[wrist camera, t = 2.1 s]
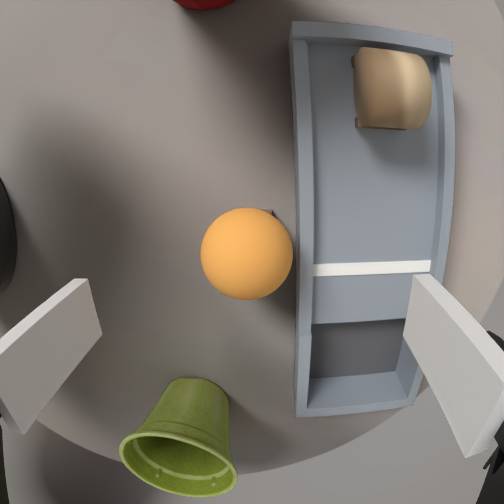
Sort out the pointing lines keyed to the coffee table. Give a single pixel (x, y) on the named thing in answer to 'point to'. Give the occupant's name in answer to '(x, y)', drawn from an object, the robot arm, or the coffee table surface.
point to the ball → (246, 253)
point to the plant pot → (184, 441)
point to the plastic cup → (203, 4)
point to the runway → (363, 220)
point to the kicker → (390, 89)
